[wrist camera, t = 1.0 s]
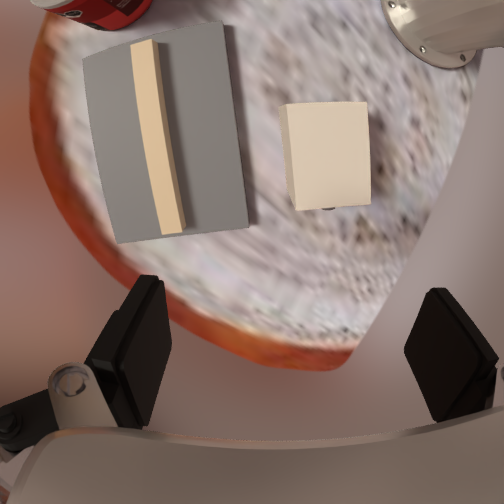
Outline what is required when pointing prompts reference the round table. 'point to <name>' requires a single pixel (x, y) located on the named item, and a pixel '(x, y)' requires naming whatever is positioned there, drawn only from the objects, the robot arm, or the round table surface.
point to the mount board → (187, 128)
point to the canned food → (97, 11)
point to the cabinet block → (326, 154)
